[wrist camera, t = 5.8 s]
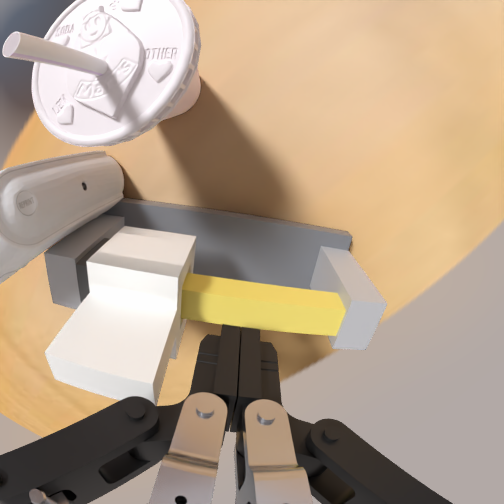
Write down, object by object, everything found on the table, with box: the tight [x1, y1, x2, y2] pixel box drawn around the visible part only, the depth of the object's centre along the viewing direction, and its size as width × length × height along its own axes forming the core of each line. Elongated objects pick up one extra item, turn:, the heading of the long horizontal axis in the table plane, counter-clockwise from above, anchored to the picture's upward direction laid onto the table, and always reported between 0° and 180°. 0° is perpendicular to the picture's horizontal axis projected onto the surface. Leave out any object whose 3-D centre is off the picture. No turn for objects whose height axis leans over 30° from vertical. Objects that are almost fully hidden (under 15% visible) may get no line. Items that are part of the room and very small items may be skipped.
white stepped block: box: [45, 226, 196, 406], centre depth 12 cm, size 4×4×8 cm
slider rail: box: [44, 198, 387, 350], centre depth 16 cm, size 17×5×8 cm, turn 80°
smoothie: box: [3, 0, 201, 147], centre depth 9 cm, size 6×6×14 cm
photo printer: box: [0, 151, 124, 284], centre depth 12 cm, size 10×4×12 cm, turn 111°
